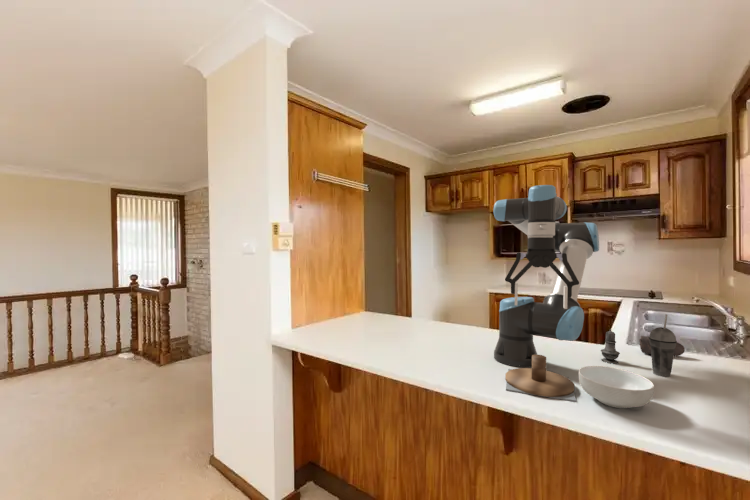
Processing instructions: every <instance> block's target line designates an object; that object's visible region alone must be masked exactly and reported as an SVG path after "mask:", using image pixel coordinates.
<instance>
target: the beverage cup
mask: <svg viewBox="0 0 750 500" xmlns="http://www.w3.org/2000/svg"><path fill="white" fill-rule="evenodd" d="M667 320H668V314H665V315H664V321H663V322H664V323H663V327H662V326H661V327H660V326H658V327H656V328H653V329H652V330H651V331H650V333H649V335H648V336H649V341H650V345H651V354H650V355H651V367H652V373H653V374H654V375H656V376H659V377H662V378H669V377H670V378H671V375H672V370H673V363H674V357H675V356H674V349H675V347H676V343H677V342H678V341H677V337H676V335H675V333H674V331H672V330H670V329H669V328H668V327H667Z"/></svg>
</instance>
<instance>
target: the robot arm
mask: <svg viewBox="0 0 750 500" xmlns="http://www.w3.org/2000/svg"><path fill="white" fill-rule="evenodd" d="M556 190H557V189H556V186H554V185H553V184H539V185H533V186H530V187H529V189H528V197H524V198H523V197H521V198H505V199H499V200H496V201H495V202H494V204H493V215H494V216H493V217H494V219H495V220H496V221H499V222H506V221H507V222H509V223H510V224H512V225H513V226H514V227H515V228H517V229H518V230H519V231H521V232H522V233H524V234H525V235H527V251H526V253H524V252H520V251H519V252H516V255H515V256H516V258H515V260H514V262H513V264H512V265H511V267H510V269H509V271H508V273H507V275H506V276H505V282H507V283H509V284H510V293H511V294H512V295H514V297H507V298H503V299H501V300H500V301H499V310H498V312H499V313H498V314H499V315H498V316H499V317H498V318H499V327H498V329H499V330H498V333H499V334H498V336H499V337H498V340H497V343H496V346H495V348H494V350H493V359H494V360H495V361H496V362H498V363H501V364H504V365H507V366H508V365H509V366H512V367H520V368H530V367H532V355H538V352H537V350H536V347H535V343H534V336H537V337H543V338H548V339H549V338H550V339H555V340H558V341H568V342H573V341H575V340H577V339H578V338H579V337H580V335H581V333H582V330H583V326H584V321H585V312H584V310H583V308H582V307H581V304H580V303H579V302H578V297H579V293H580V290H581V289H580V288H581V285H582V282H583V281H582V279H583V276H584V271H585V268H586V264H587V263H586V262H587V260H588V259H589V258H590V257H592V256H593V253H597V252H599V251H600V237H599V229H598V226H597V224H596V223H594V222H586V221H584V222H565V223H564V222H561V223H560V222H559V223H556V220H559V219H561V218H562V217H564V216H565V214H566V212H567V209H568V206H567V203H566V202H565V201H564V199H563V198H561V197H560V196H557V195H558V194H557V191H556ZM556 252H560V253H556ZM524 258H526V259H527V260H528V262H527V263H526V265H524V267H523V268H522V269H521V270H520V271H519V272H518V273H517V274H516V275H515V276H514V277H513V278H512V275H514V272H515V270H516V269H517V267H518V266H519V263H520V261H521V260H522V261H523V259H524ZM556 259H558V260H559V262H558V266H556V265H555V263H554V262H555V260H556ZM532 267H533V268H549V267H550V268H551V269H552V270H553V272H555V276H554V280H553V284H552V287H551V291H550V294H547V295H545V297H543V301H542V302H538V301H537V302H536V301H535V299H534V297H532V296H519V295H518V294H519V293H518V291H519V290H518V287H519V285H518V283H517V282H518V280H519V279H520V278H521V277H523V275H524V274H525V273H527V271H528V270H529V269H530V268H532Z"/></svg>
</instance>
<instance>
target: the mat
mask: <svg viewBox="0 0 750 500" xmlns="http://www.w3.org/2000/svg"><path fill="white" fill-rule="evenodd" d="M509 370H512V368H508V370H507V372H508V371H509ZM565 377H566V378H568V379H570V378H569V376H565ZM505 391H506V392H507V391H509V392H513V393H519V394H525V395H532V396H535V395H534V394H530V393H526V392H523V391H521V390H518V389H516V388H514V387H512V386H511V385H509V384H508V383H507V382H506V384H505ZM574 392H575V391H574ZM574 392H573V393H572V394H570V395H567V396H562V397H549V399H550V398H551V399H557V400H563V401H570V402H575V403H576V402H577V398H576V395H575V393H574ZM536 396H538V397H540V396H539V395H536ZM542 397H545V398H548V397H547V396H542Z"/></svg>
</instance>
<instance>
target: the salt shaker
mask: <svg viewBox="0 0 750 500" xmlns="http://www.w3.org/2000/svg"><path fill="white" fill-rule="evenodd" d="M604 342H605V346H604V348H602V349H601V350H600V352H601V355H602V357H603V358H601V362H604V363H606V362H607V364H611V363H613V365H614V363H615V365H617V364H616V363H618V364H619V361H618V360H617V359H618V358H619V356H620V351H617V350H616V343H617V341H616V333H615V332H614V331H612V329H611V328H610V329H609V331H606V332H605V340H604Z"/></svg>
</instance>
